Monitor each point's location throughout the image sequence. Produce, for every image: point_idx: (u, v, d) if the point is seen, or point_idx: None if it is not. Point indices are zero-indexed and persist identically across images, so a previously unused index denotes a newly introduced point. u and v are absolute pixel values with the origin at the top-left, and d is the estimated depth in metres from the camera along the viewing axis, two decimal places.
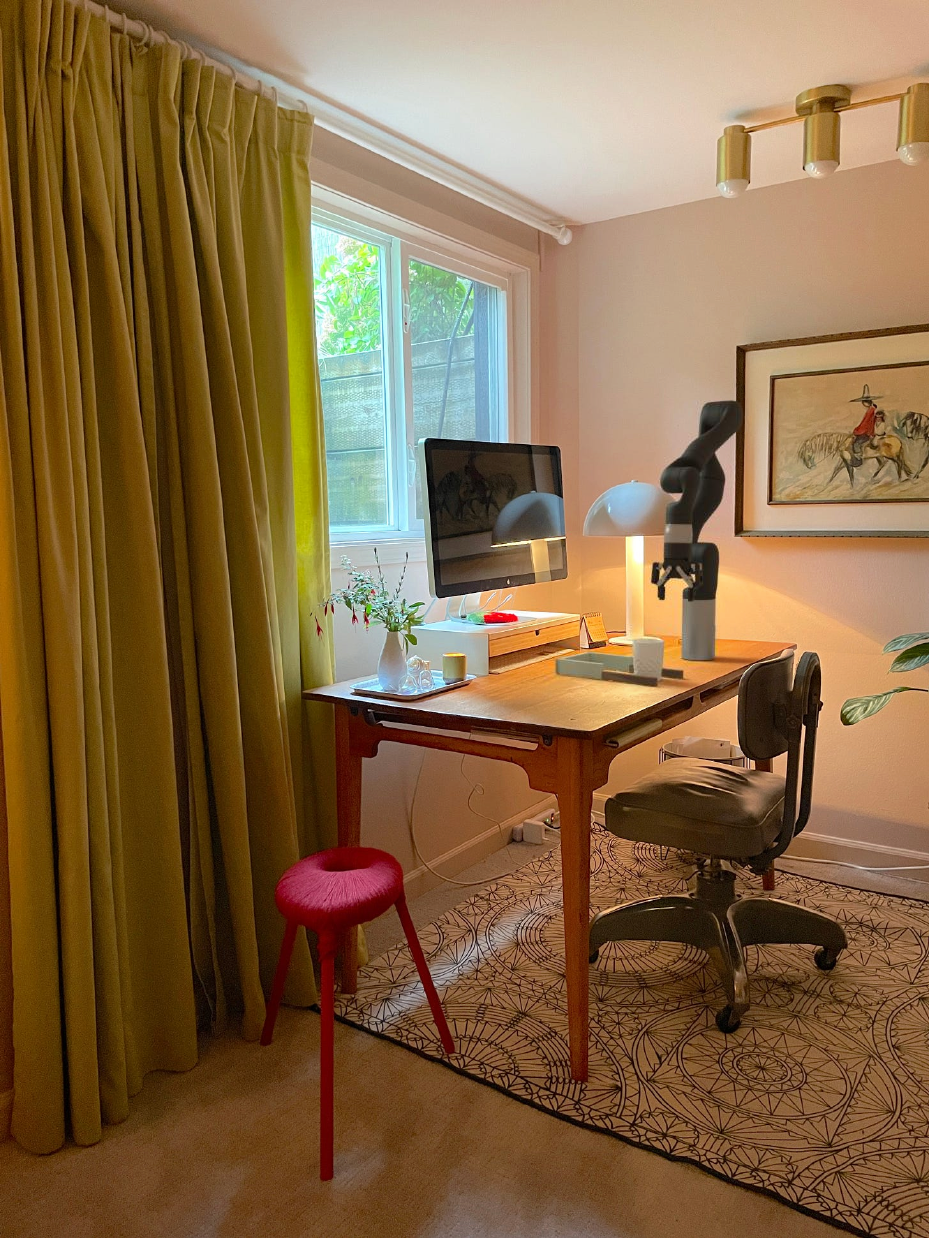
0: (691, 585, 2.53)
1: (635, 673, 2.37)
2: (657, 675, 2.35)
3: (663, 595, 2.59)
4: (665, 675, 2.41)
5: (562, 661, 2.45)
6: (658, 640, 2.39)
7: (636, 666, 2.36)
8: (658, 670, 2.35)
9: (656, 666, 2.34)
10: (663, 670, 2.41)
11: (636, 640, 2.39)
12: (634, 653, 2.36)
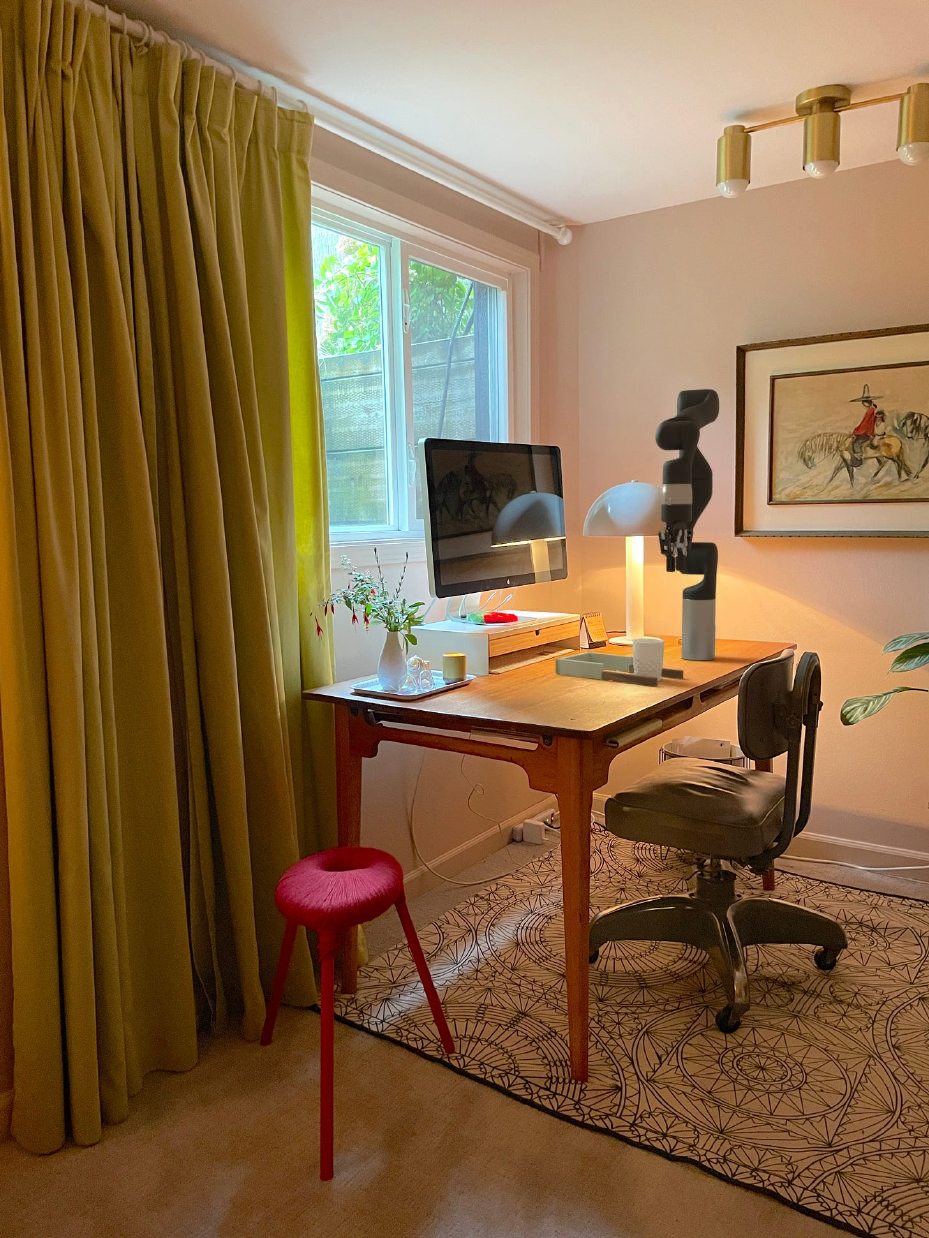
0: (686, 553, 2.37)
1: (635, 673, 2.37)
2: (657, 675, 2.35)
3: None
4: (665, 675, 2.41)
5: (562, 661, 2.45)
6: (658, 640, 2.39)
7: (636, 666, 2.36)
8: (658, 670, 2.35)
9: (656, 666, 2.34)
10: (663, 670, 2.41)
11: (636, 640, 2.39)
12: (634, 653, 2.36)
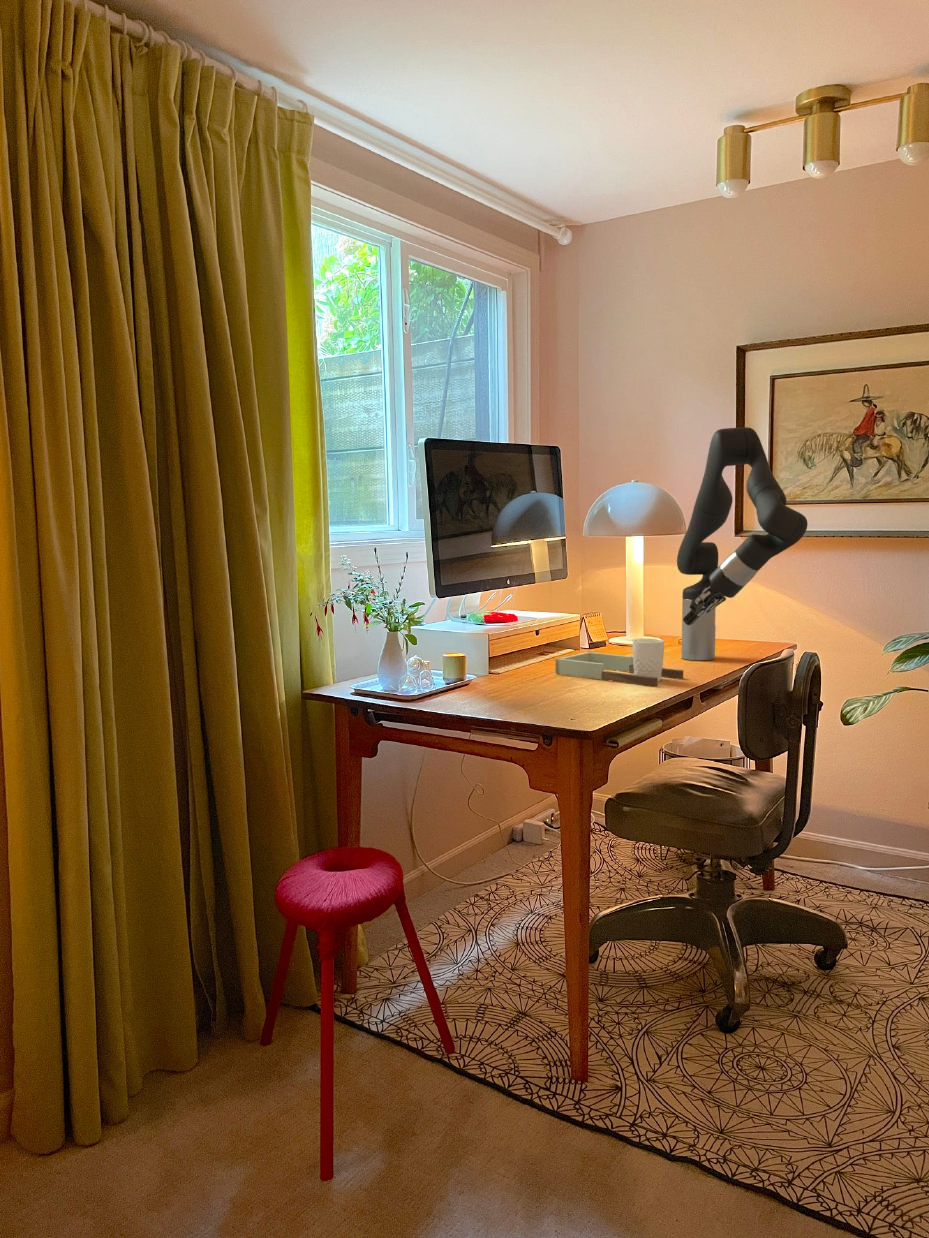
0: (703, 613, 2.27)
1: (635, 673, 2.37)
2: (657, 675, 2.35)
3: None
4: (665, 675, 2.41)
5: (562, 661, 2.45)
6: (658, 640, 2.39)
7: (636, 666, 2.36)
8: (658, 670, 2.35)
9: (656, 666, 2.34)
10: (663, 670, 2.41)
11: (636, 640, 2.39)
12: (634, 653, 2.36)
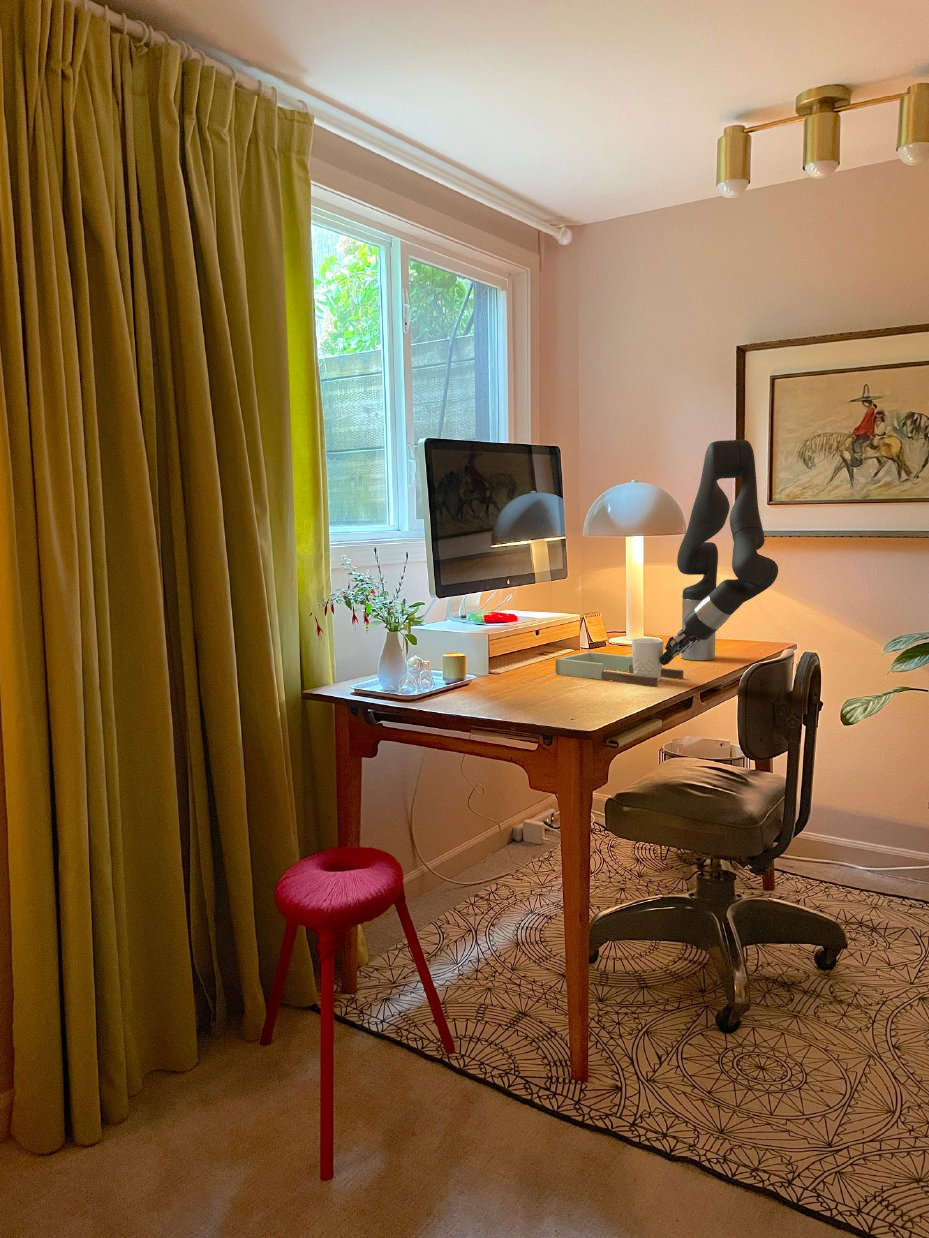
0: (678, 654, 2.33)
1: (634, 673, 2.37)
2: (656, 675, 2.35)
3: None
4: (665, 675, 2.41)
5: (562, 661, 2.45)
6: (657, 640, 2.39)
7: (635, 666, 2.36)
8: (657, 670, 2.35)
9: (655, 666, 2.34)
10: (663, 670, 2.41)
11: (635, 640, 2.39)
12: (633, 653, 2.36)
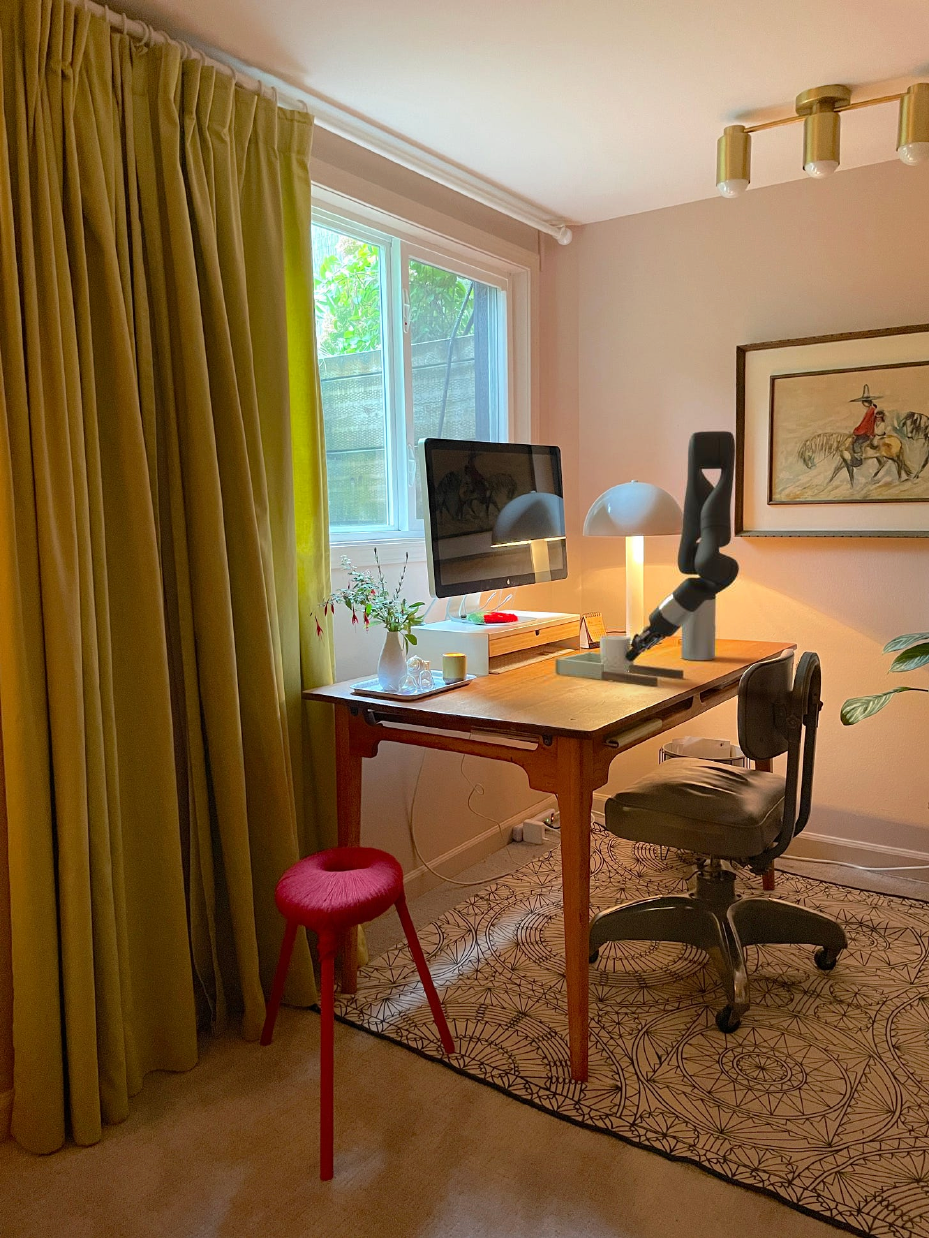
0: (644, 650, 2.39)
1: None
2: (622, 671, 2.41)
3: None
4: (665, 675, 2.41)
5: (562, 661, 2.45)
6: (625, 637, 2.45)
7: (603, 662, 2.42)
8: (624, 666, 2.41)
9: (622, 662, 2.40)
10: (663, 670, 2.41)
11: (604, 637, 2.46)
12: (601, 649, 2.43)
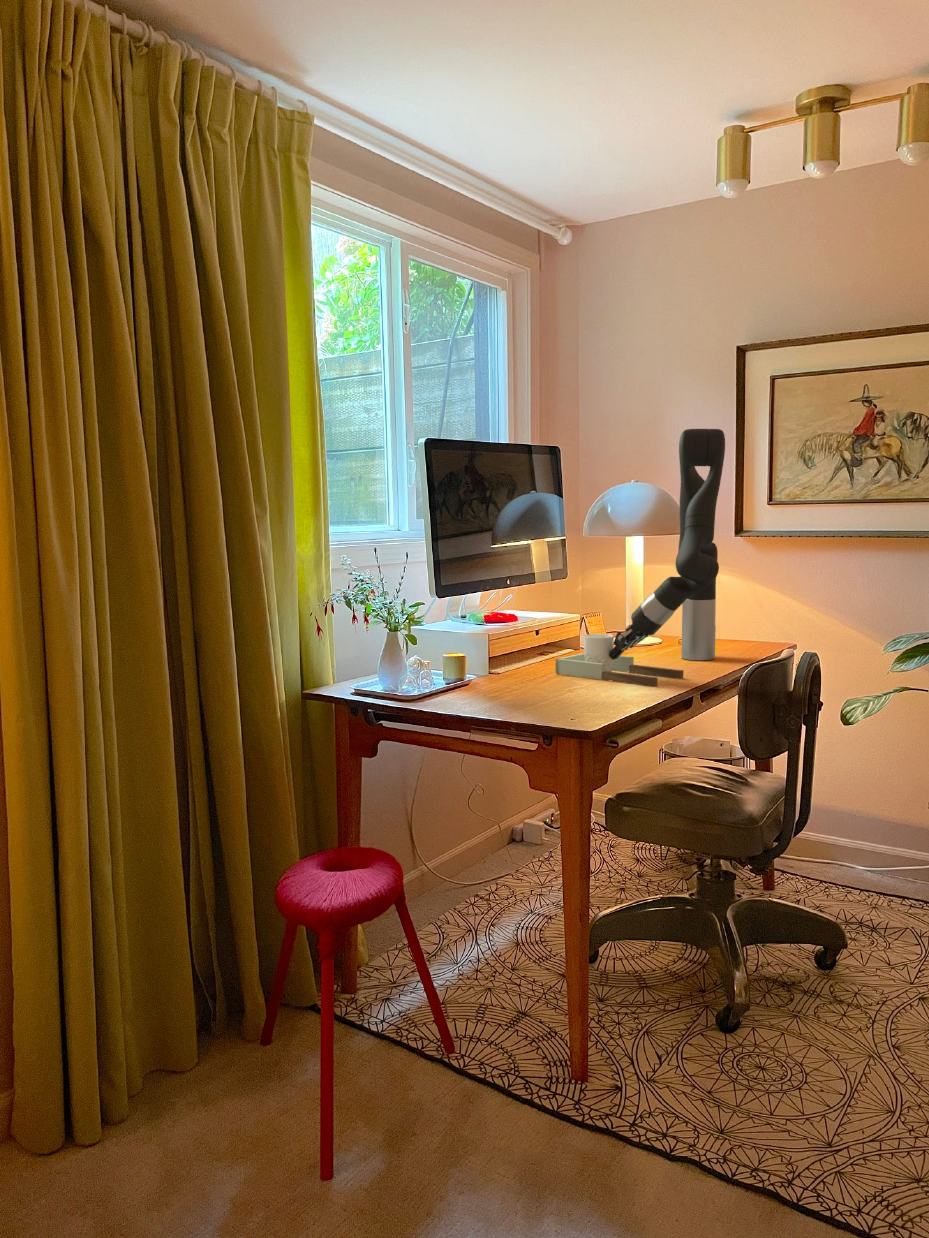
0: (627, 649, 2.42)
1: None
2: (606, 669, 2.44)
3: None
4: (665, 675, 2.41)
5: (562, 661, 2.45)
6: (609, 635, 2.48)
7: (586, 660, 2.45)
8: (607, 664, 2.44)
9: (605, 660, 2.43)
10: (663, 670, 2.41)
11: (588, 635, 2.49)
12: (584, 647, 2.46)
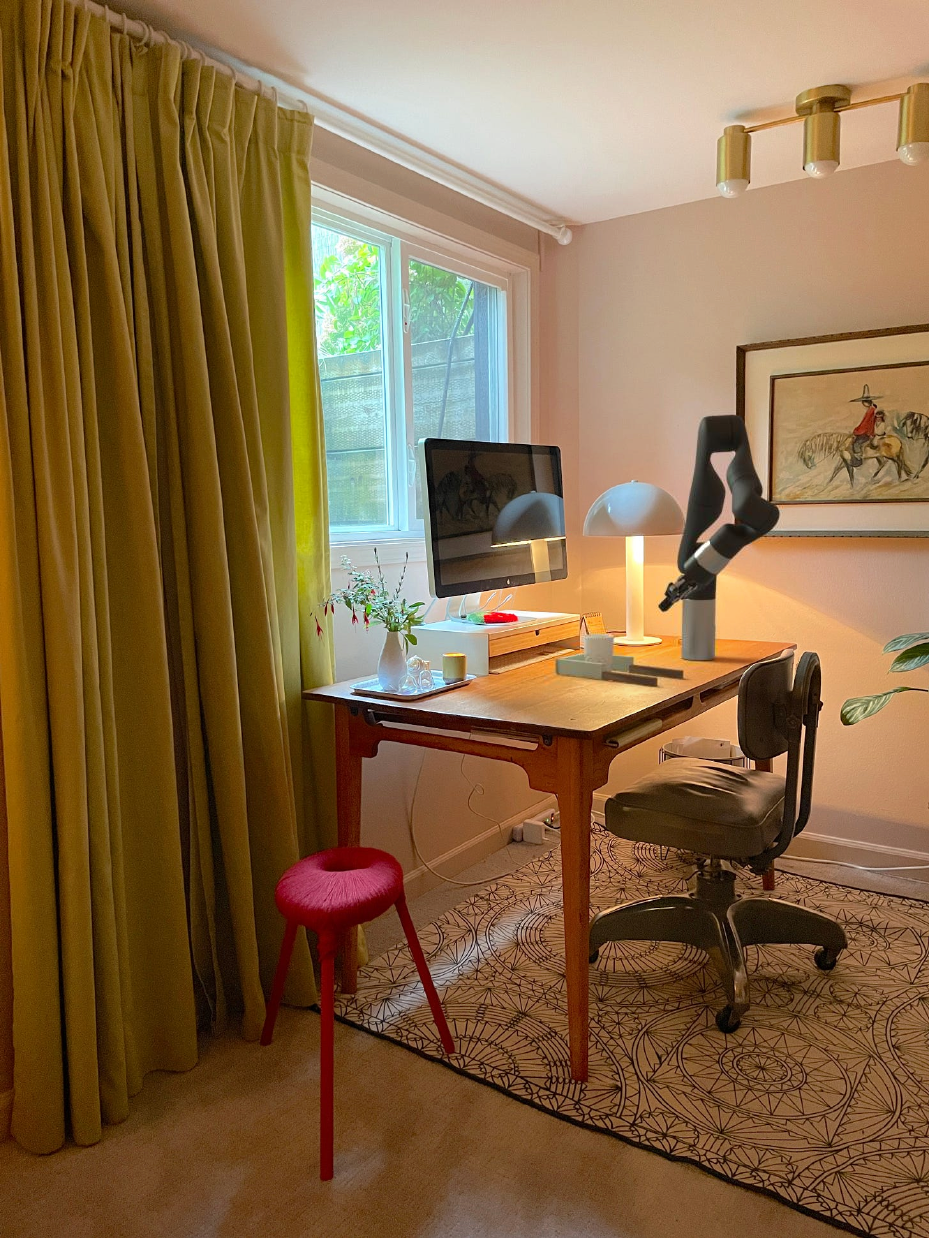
0: (678, 600, 2.31)
1: None
2: (606, 669, 2.44)
3: None
4: (665, 675, 2.41)
5: (562, 661, 2.45)
6: (609, 635, 2.48)
7: (586, 660, 2.45)
8: (607, 664, 2.44)
9: (605, 660, 2.44)
10: (663, 670, 2.41)
11: (588, 635, 2.49)
12: (584, 648, 2.46)
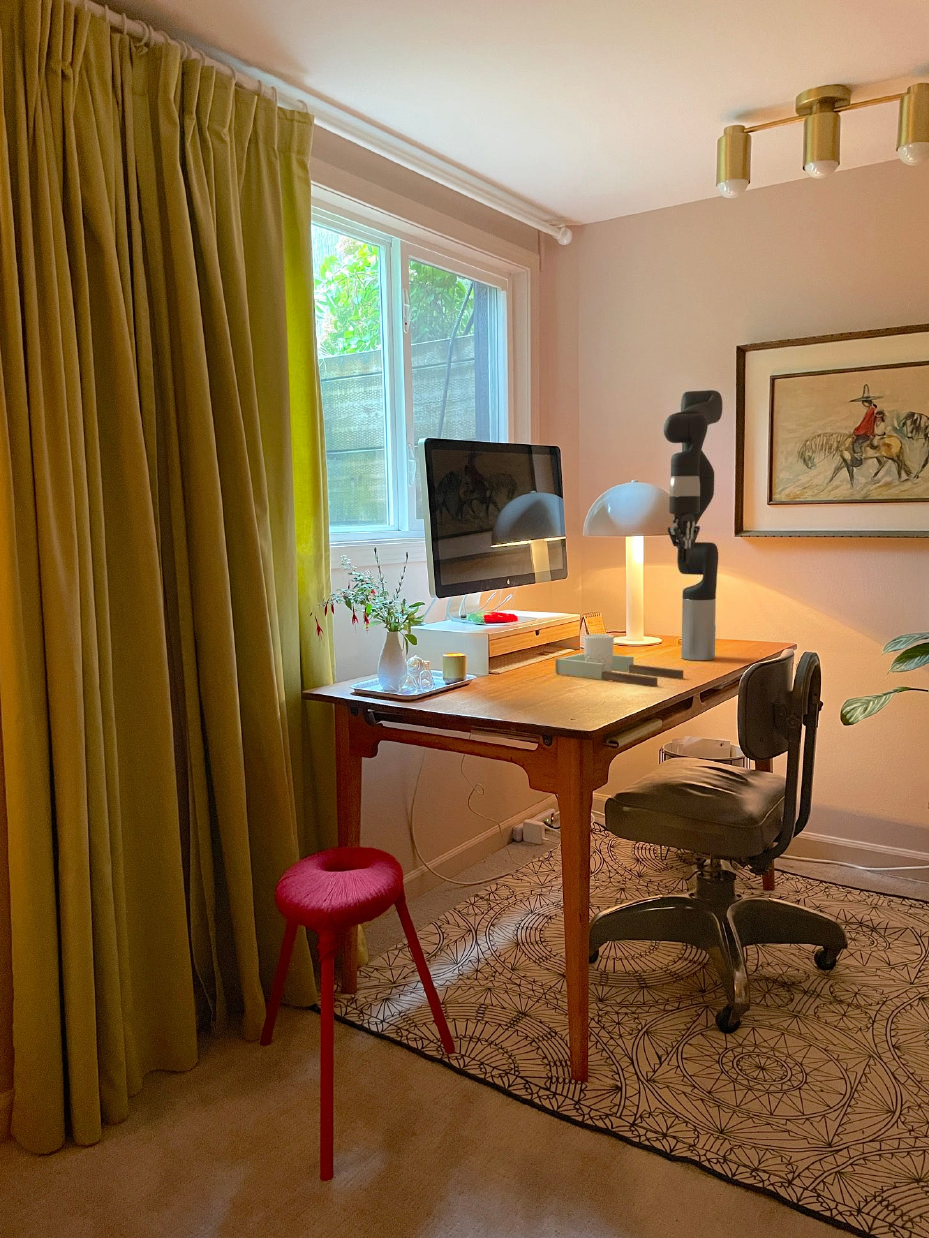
0: (690, 546, 2.39)
1: None
2: (606, 669, 2.44)
3: None
4: (665, 675, 2.41)
5: (562, 661, 2.45)
6: (609, 635, 2.48)
7: (586, 660, 2.45)
8: (607, 664, 2.44)
9: (605, 660, 2.44)
10: (663, 670, 2.41)
11: (588, 635, 2.49)
12: (584, 648, 2.46)
